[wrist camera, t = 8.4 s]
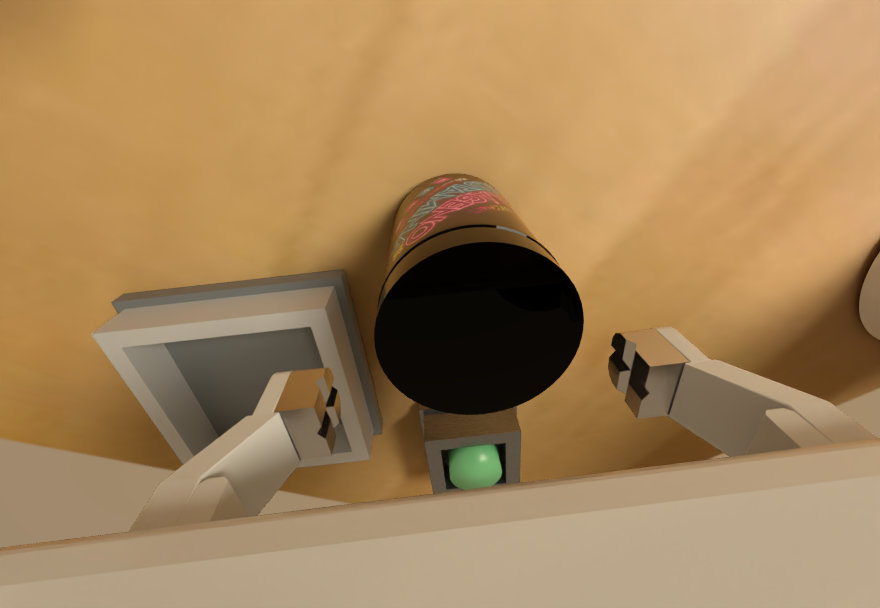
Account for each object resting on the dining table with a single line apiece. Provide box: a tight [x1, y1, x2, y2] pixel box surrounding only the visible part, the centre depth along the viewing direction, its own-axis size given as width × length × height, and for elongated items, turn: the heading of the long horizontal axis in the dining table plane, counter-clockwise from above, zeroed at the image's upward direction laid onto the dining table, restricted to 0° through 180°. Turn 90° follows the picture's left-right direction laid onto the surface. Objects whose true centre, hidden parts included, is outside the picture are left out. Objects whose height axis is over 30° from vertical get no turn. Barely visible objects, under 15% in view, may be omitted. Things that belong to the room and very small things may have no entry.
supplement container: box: [374, 174, 584, 415], centre depth 16 cm, size 7×7×10 cm
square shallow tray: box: [92, 269, 383, 468], centre depth 23 cm, size 13×13×4 cm
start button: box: [448, 444, 502, 490], centre depth 26 cm, size 4×4×2 cm
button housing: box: [419, 404, 521, 494], centre depth 27 cm, size 7×7×4 cm
